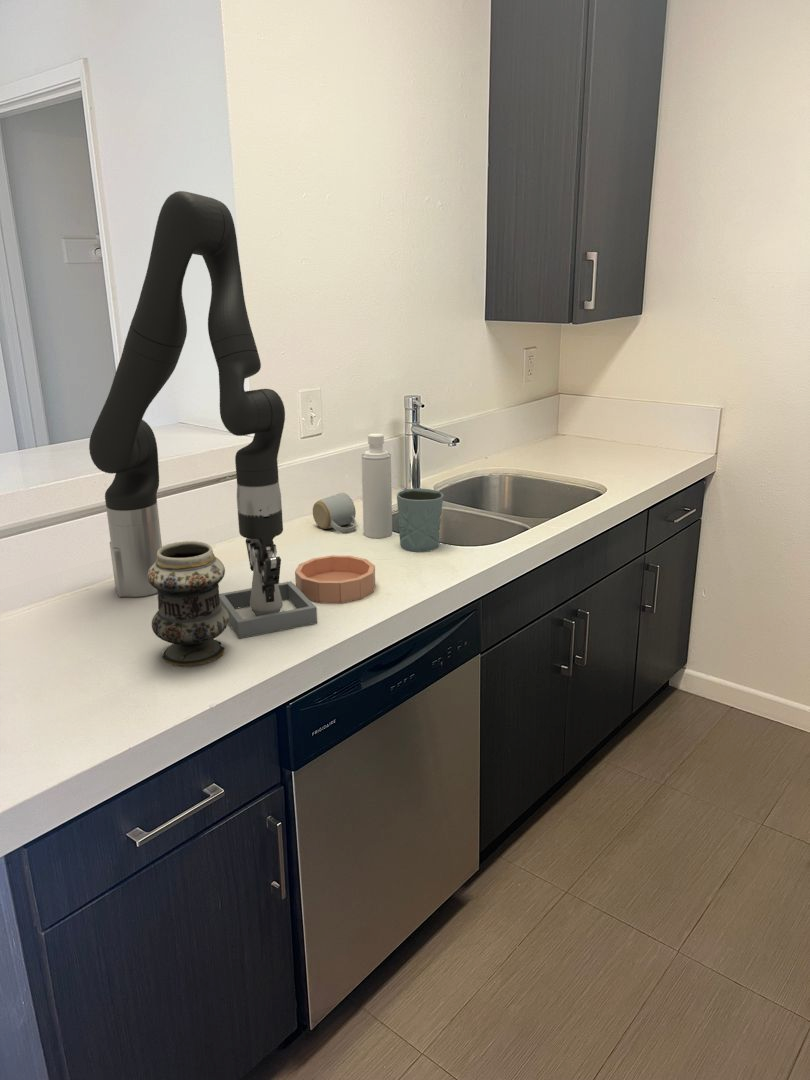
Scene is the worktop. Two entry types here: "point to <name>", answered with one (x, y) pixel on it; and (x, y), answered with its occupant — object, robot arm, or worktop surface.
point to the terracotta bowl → (335, 578)
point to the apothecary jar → (188, 603)
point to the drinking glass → (419, 519)
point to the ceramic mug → (335, 513)
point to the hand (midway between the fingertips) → (266, 599)
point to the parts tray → (269, 622)
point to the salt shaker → (263, 595)
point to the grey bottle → (376, 489)
